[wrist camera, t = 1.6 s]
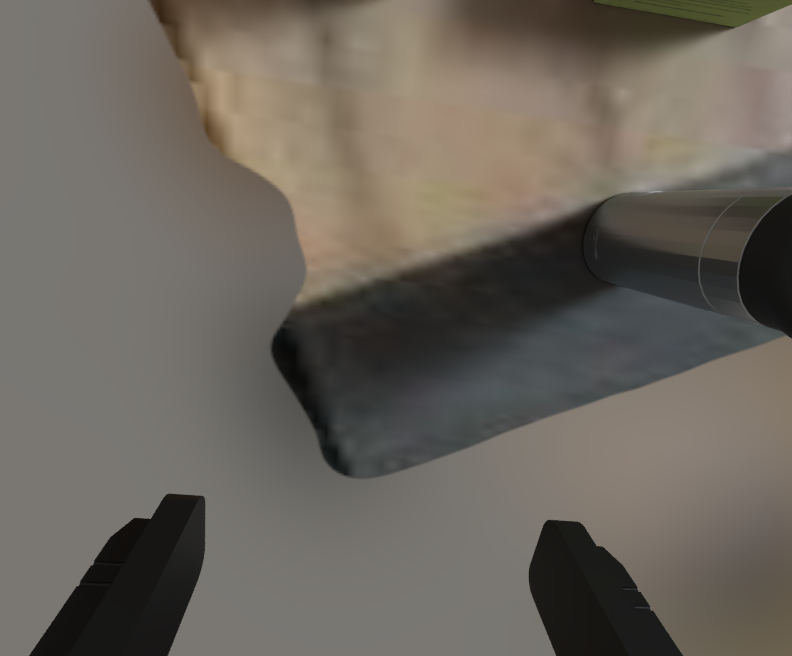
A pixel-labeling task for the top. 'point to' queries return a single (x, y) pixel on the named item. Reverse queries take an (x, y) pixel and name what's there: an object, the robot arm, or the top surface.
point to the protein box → (706, 9)
